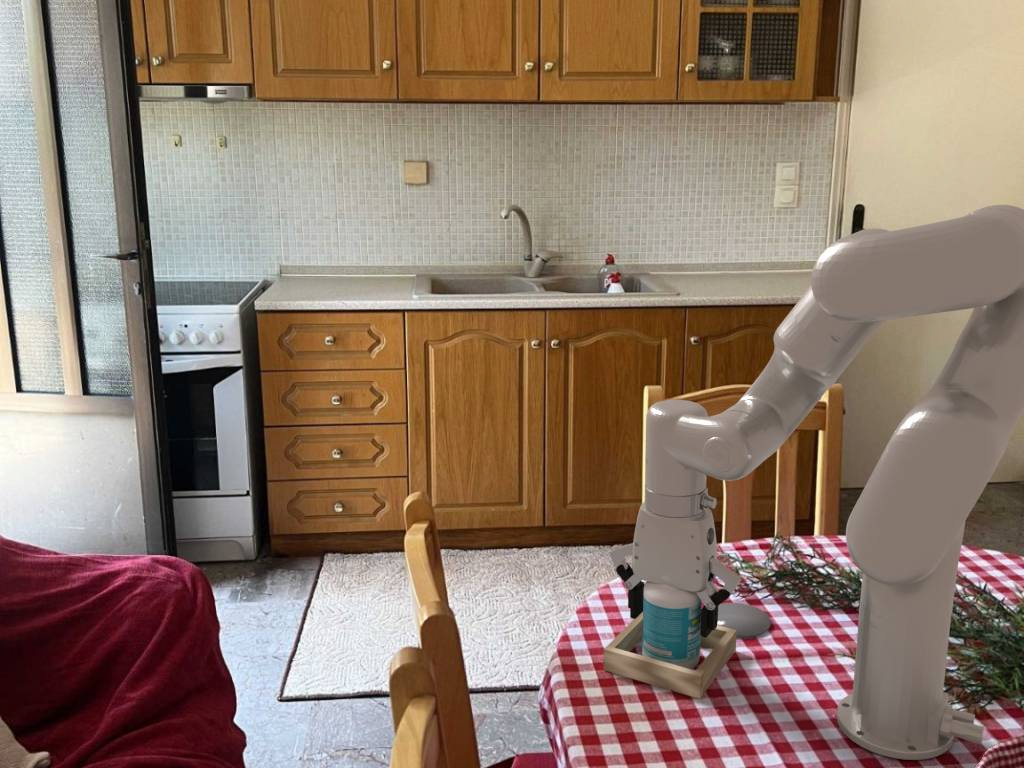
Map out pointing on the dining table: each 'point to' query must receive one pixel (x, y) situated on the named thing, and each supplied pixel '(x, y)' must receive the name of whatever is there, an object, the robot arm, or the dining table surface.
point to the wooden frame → (665, 673)
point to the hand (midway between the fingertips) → (671, 623)
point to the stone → (743, 619)
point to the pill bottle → (671, 624)
